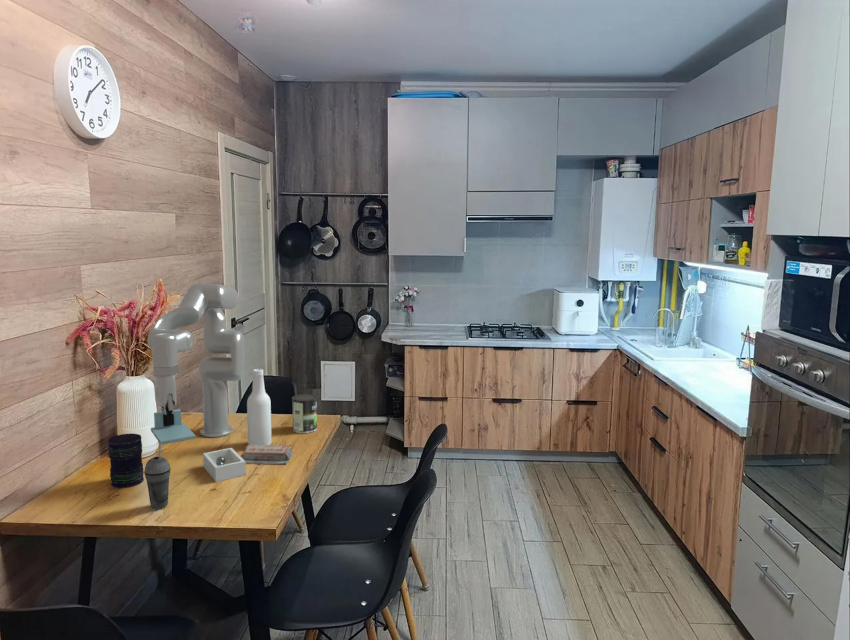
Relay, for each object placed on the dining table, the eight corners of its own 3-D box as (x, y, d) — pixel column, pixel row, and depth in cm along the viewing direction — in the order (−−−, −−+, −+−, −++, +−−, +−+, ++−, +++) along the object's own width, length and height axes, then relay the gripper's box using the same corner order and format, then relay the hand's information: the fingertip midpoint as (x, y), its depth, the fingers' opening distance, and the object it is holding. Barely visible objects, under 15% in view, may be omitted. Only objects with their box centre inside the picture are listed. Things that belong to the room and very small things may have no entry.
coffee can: (319, 425, 250) (319, 393, 248) (314, 433, 240) (314, 400, 237) (295, 425, 250) (295, 393, 248) (289, 433, 240) (289, 400, 238)
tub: (203, 466, 205) (202, 453, 204) (232, 460, 210) (231, 447, 210) (215, 482, 193) (215, 467, 192) (245, 475, 198) (245, 461, 198)
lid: (150, 430, 192) (149, 413, 192) (183, 425, 198) (183, 408, 198) (160, 444, 180) (159, 426, 179) (195, 438, 186) (195, 420, 185)
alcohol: (270, 439, 232) (268, 366, 228) (272, 447, 224) (271, 371, 219) (247, 442, 229) (245, 368, 224) (249, 450, 221) (246, 373, 216)
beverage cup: (146, 503, 177) (142, 440, 174) (172, 499, 180) (169, 437, 177) (145, 514, 170) (141, 449, 167) (172, 509, 173) (169, 445, 170)
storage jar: (105, 482, 191) (102, 438, 189) (135, 473, 198) (133, 431, 196) (118, 491, 185) (115, 446, 182) (149, 481, 192) (147, 438, 190)
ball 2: (214, 469, 201) (213, 461, 200) (222, 467, 203) (222, 459, 202) (216, 472, 198) (216, 463, 198) (225, 470, 200) (225, 462, 200)
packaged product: (293, 443, 217) (286, 453, 207) (294, 455, 218) (286, 466, 208) (246, 441, 218) (236, 451, 208) (246, 453, 218) (237, 464, 209)
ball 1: (215, 464, 205) (214, 456, 204) (223, 462, 207) (223, 454, 206) (217, 467, 202) (217, 459, 202) (226, 465, 204) (226, 457, 204)
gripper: (148, 367, 196) (151, 420, 199) (158, 377, 183) (161, 433, 186) (172, 364, 200) (174, 416, 203) (183, 374, 188) (185, 429, 190)
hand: (168, 424), depth 194 cm, fingers closed on lid
